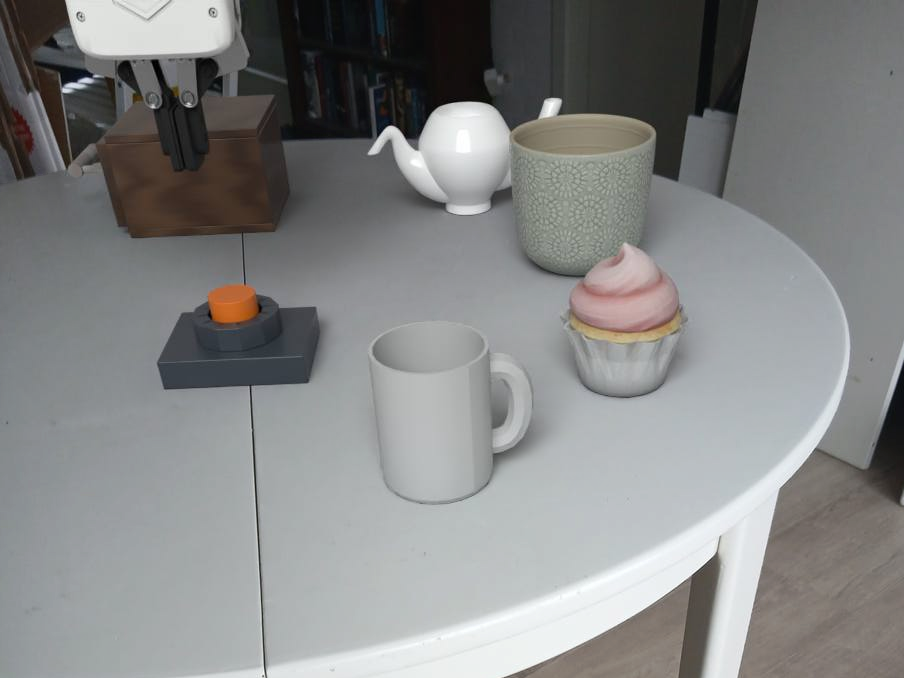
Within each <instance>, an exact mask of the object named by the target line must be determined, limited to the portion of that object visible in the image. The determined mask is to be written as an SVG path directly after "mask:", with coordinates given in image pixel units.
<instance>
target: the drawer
mask: <svg viewBox="0 0 904 678" xmlns="http://www.w3.org/2000/svg"><path fill="white" fill-rule="evenodd" d="M98 159H99V162H100V164H95V163H96V161H97V160H98ZM67 173H68V174H69V175H70V176H71V177H72V178H74V179H76V180H77V179H81V178H82V177H83V175H85V174H98V173H102V174H103V177H104V181H105V184H106V187H107V193H108V195H109V198H110V199H109V200H110V202H111V206H112V210H113V213H114V217H115V220H116V224H117V227H118V228H128V224H127V221H126V217H125V213H124V209H123V206H122V202H121V198H120V195H119V191H118V187H117V184H116V180H115V176H114V173H113V169H112V165H111V161H110V158H109V154H108V150H107V147H106V143H105V139H104V135H102V136H101V138H100V139H99V140H98V141H97V142H96V143H90V144H88V145H87V146H86V147H85V148H84V149H83V150H82V151H81V152H80V153H79V155H78V156H77V157H75V159H74V160H73V161H72V162H71V163H70V164H69V165H68V167H67Z"/></svg>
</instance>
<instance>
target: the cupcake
mask: <svg viewBox="0 0 904 678" xmlns="http://www.w3.org/2000/svg"><path fill="white" fill-rule="evenodd" d="M679 294H680V293H679V289H678V288H677V286H676V285H675V282H674V281H673V279H672V278H671V277H670V276H669V274H668V273H667V272H666V271H664V269H662V268H660V267H659V266H658V265H657V263H656V261H654V259H653V258H652V257H651V255H649V254H648V253H647V252H645V251H644V250H642V249H641V248H639V247H638V246H637V247H634V246H632V245H630V244H628V243H623V245H622V247H621V249H620V250H619V253H618V256H614V257H609V258H606V259H604V260H602V261H600V262H599V263H597V264H596V265H595V266H594V267H593V268H592V269H591V270H590V271H589V272H588V273H587V274H586V275H584V278H583V279H581V280H580V281H578V282H577V283H576V284H575V285H574V287H573V288H572V290H571V291H570V294H569V298H568V304H569V307H570V308H569V309H567V310H564V311H561V312H560V313H559V314H558V315H559V317H560V318H559V319H561V321H562V323H563V330H564V332H565V334H566V336H567V338H568V340H569V341H570V344H571V346H572V351H573V357H574V361H575V366H576V370H577V375H578V377H579V378H578V379H580V381H581V384H583V385H584V387H586V388H587V389H589V390H591V391H592V392H595V393H597V394H601V395H604V396H608V397H618V398H621V397H623V398H624V397H625V398H630V397H636V396H641V395H646V394H648V393H651V392H653V391H655V390H656V389H658V388H659V387H660V386H661V385H662V384H663V382H665V379H666V376H667V375H668V374H667V373H668V370H669V368H670V366H671V362H672V359H673V357H674V354H675V351H676V349H677V347H678V344H679V341H680V340H681V338H682V336H683V335H684V333H685V331H686V329H687V328H688V325H689V324H690V321H691V320H692V319H691V316H689V315H688V314H686V313H684V312H685V309H686V306H685V304H683V303H680V296H679Z"/></svg>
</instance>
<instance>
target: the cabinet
mask: <svg viewBox="0 0 904 678" xmlns="http://www.w3.org/2000/svg"><path fill="white" fill-rule="evenodd" d="M276 100H277V99H276V95H275V94H257V95H255V94H254V95H237V96H233V95H232V96H214V97H213V96H212V97H202V98H201V102H202V107H203V112H204V117H205V122H206V127H207V133H208V138H209V144H210V151H209V153H208V154H205V160H204V162H203V164H202V165H201V167H200V168H199V170H198V171H191V172H190V171H189V169H188V170H187V169H185V170H183V172H174V170H173V166H172V162H171V157H170V156H165V155H164V154H163V151H162V147H161V143H160V138H159V134H158V129H157V125H156V121H155V116H154V112H153V109H151V108H150V107H148V106H147V105H146V103H145V102H144V100H135V102H134V103H133V104H132V105H131V106H130V107H129V108H128V109H127V110H126V111H125V112H124V113H123V114H122V115H121V116H120V117H119V118H118V119H117V120H116V122H114V123H113V125H112V126H111V127H110V128H109V129H108V130H107V131H106V132H105V133H104V134H103V136H104V139H105V143H106V147H107V150H108V154H109V158H110V161H111V165H112V169H113V173H114V176H115V180H116V184H117V187H118V191H119V195H120V198H121V202H122V206H123V209H124V213H125V217H126V221H127V224H128V227H127V228H128V232H129V235H130V238H131V239H136V238H138V239H139V238H158V237H159V238H161V237H180V236H181V237H182V236H203V235H221V234H223V235H224V234H245V233H246V234H247V233H248V234H249V233H267V232H275V231H276V228H277V226H278V224H279V223H278V222H279V221H280V218H281V216H282V213H283V210H284V208H285V206H286V203H287V200H288V198H289V195H290V192H291V187H290V181H289V175H288V168H287V161H286V156H285V149H284V144H283V143H284V142H283V137H282V131H281V125H280V119H279V118H280V117H279V112H278V106H277V101H276Z"/></svg>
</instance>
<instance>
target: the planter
mask: <svg viewBox="0 0 904 678" xmlns="http://www.w3.org/2000/svg"><path fill="white" fill-rule="evenodd" d="M656 144H657V132H656V129H655V128H654V127H653V126H652V125H651V124H649V123H647V122H645V121H642V120H639V119H637V118H632V117H629V116H623V115H616V114H607V113H571V114H570V113H569V114H568V113H567V114H560V115H559V114H558V115H557V116H551V117H545V118H541V119H538V118H537V119H532V120H530V121H527V122H525V123H522V124H520V125H518V126H516V127H515V128H514V129H512V130H511V133H510V135H509V156H510V173H511V185H512V186H511V194H512V204H513V213H514V214H513V215H514V221H515V228H516V235H517V239H518V242H519V245H520V247H521V248H522V251H523V252H524V253H525V255H526V256H527V257H528V258H529V259H530V261H532V262H534V263H535V264H536V265H538V266H539V267H541V268H542V269H544V270H546V271H548V272H551V273H554V274H558V275H564V276H574V277H575V276H576V277H579V276H580V277H581V276H586V274H587V273H588V272H589V271H590V270H591V269H592V268H593V267H594V266H595V265H596V264H597V263H599V262H600V261H602V260H604V259H606V258H609V257H614V256H618V253H619V250H620V249H621V247H622V245H623V243H628V244H630V245H632V246H634V247H637V248H638V246H639V244H640V241H641V239H642V236H643V232H644V227H645V224H646V223H645V222H646V218H647V212H648V206H649V201H650V192H651V186H652V180H653V173H654V165H655V156H656V147H657V146H656Z"/></svg>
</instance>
